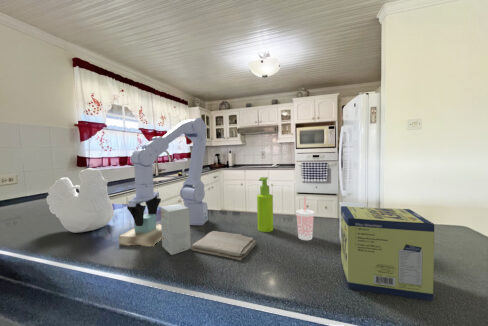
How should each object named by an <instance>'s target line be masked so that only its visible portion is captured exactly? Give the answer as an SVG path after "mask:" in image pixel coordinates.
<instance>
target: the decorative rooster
mask: <svg viewBox="0 0 488 326" xmlns="http://www.w3.org/2000/svg"><path fill="white" fill-rule="evenodd" d="M77 175H78V176H77V177H78V179H79V181H80V182H79V184H76V185H74V184H73V183H72V181H71V179H70V178H69V177H60V178H59V179H57V180H55V182H54V184H52V185H51V186H50V187H49V188H48V192H47V196H46V199H45V200H46V204H47V205H48V208H49V211H50V212H51V214H53V215H55V216H56V218H58V219H59V222H60V223H61V224H62V226H63V227H64V229H66V230H67V231H69V232H70V233H74V234H75V233H84V232H90V231H94V230H97V229H98V230H99V229H100V228H103V227H105V226H106V225H108V224H109V222H111V221H112V219H113V217H114V214H115V213H114V208H113V207H114V206H113V203H112V200H111V199H110V196H109V192H108V183H109V181H108V179H105V177H104V176H103V173H102V171H101V170H100V169H98V168H92V167H88V168H85V169H82V170H80V171H78V174H77ZM77 190H78V191H79V192H77Z"/></svg>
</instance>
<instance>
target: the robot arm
mask: <svg viewBox="0 0 488 326" xmlns="http://www.w3.org/2000/svg"><path fill="white" fill-rule="evenodd" d="M206 131H207V125H206V123H205V121H204V120H203V119H202V118H200V117H196V118H192V119H184V120H182V121H181V122H178V123H177V125H175V126H174V127H173V128H172V129H170V130H169V131H168V132H166V133H165V134H164V135H163V136H159V135H158V136H153V137H151V141H149V142H148V143H145V144H142V145H141V149H135V150H134V151H133V152H132V154H131V157H129V159H130V161H131V162H130V163H132V165H133V167H134V168H133V169H134V184H135V185H134V188H135V195H134V196H132V199H131V198H130V199H129V200H128V202H127V203H128V205H127V206H126V207H127V210H128V212H129V213H130V215H131V217H132V218H133V222H134V221H135V224H136V226H142V225H143V216H144V214H145V210H146V208H147V214H156V215H157V213H158V209H159V206H160V204H161V201H162V198H159V197H160V192H159V191H154V173H153V172H154V171H153V169H154V168H153V164H155V162H156V158H158V157H159V156H161V154H163V153H164V152H166V151H167V150H168V149H169V145H170V143H172V142H173V141H175V140H176V139H178V138H179V137H181V136H183V135H184V136H185V137H186V138H188V140H190V141H191V142H192V149H191V155H190V161H189V162H190V163H189V167H188V174H187V179H186V180H185V181H184V182H183V184H182V187H181V188H180V191H179V197H180V198H181V199H182V201H183V206H185V207H188V208H189V220H190V226H204V225H205V223H207V221H208V220H209V217H208V215H209V214H208V208H209V207H208V203H207V202H206V201H203V200H204V198H205V194H206V193H205V192H206V191H205V184H204V183H203V181H202V180H201V179H202V173H203V166H204V160H205V159H204V158H205V152H206V146H207V135H206ZM143 203H145V205H142V204H143Z"/></svg>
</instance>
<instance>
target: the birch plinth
mask: <svg viewBox="0 0 488 326" xmlns="http://www.w3.org/2000/svg"><path fill="white" fill-rule="evenodd" d="M161 239H162V229H161V224H160V223H159V224H157V223H156V228H155V229H153V230H152V231H150V232H149V233H135V228H134V227H133V228H131V229H130V230H128V231H126V232H124V233H122V234H120V235H119V236H118V244H119V246H130V245H141V246H140V247H151V246H153V247H155V246H156V245H157V244H158V243H160V242H161V241H162V240H161ZM160 240H161V241H160ZM159 241H160V242H159ZM157 242H158V243H157ZM156 243H157V244H156ZM155 244H156V245H155Z"/></svg>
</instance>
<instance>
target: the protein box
mask: <svg viewBox="0 0 488 326" xmlns="http://www.w3.org/2000/svg"><path fill="white" fill-rule="evenodd" d="M340 247H341V249H340V250H341V251H340V255H341V256H340V260H341V261H340V264H341V267H342V268H341V269H342V273H343V275H344V279H345V283H346V287H347V289H348V290H357V291H362V292H370V293H377V294H382V295H388V296H389V295H390V296H395V297H403V298H408V299H414V300H415V299H417V300H423V301H429V302H433V301H434V269H435V268H434V267H435V223H433V222H431V221H430V220H428V219H426V218H425V217H424V216H421V215H420V214H419V213H416V212H415V211H413V210H411V209H410V208H391V207H389V208H388V207H371V206H370V207H368V206H366V207H349V206H341V241H340Z"/></svg>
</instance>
